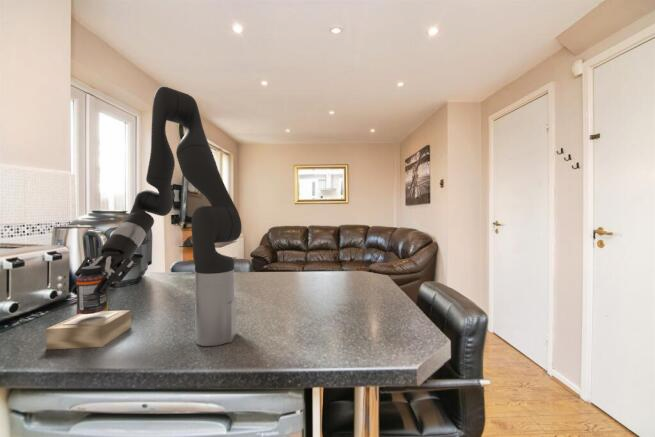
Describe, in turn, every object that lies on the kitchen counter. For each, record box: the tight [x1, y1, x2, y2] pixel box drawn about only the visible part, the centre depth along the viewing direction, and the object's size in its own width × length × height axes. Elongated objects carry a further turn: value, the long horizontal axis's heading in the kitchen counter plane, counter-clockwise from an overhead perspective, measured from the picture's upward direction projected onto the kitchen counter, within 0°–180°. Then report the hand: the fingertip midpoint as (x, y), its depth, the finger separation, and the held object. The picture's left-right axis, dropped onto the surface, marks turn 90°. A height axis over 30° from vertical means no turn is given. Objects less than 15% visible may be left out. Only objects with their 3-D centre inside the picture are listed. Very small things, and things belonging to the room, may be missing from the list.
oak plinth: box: [45, 309, 132, 350], centre depth 74 cm, size 12×12×5 cm
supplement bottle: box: [75, 266, 107, 314], centre depth 74 cm, size 6×6×11 cm
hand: (85, 293), depth 73 cm, fingers closed on supplement bottle, 6 cm apart
